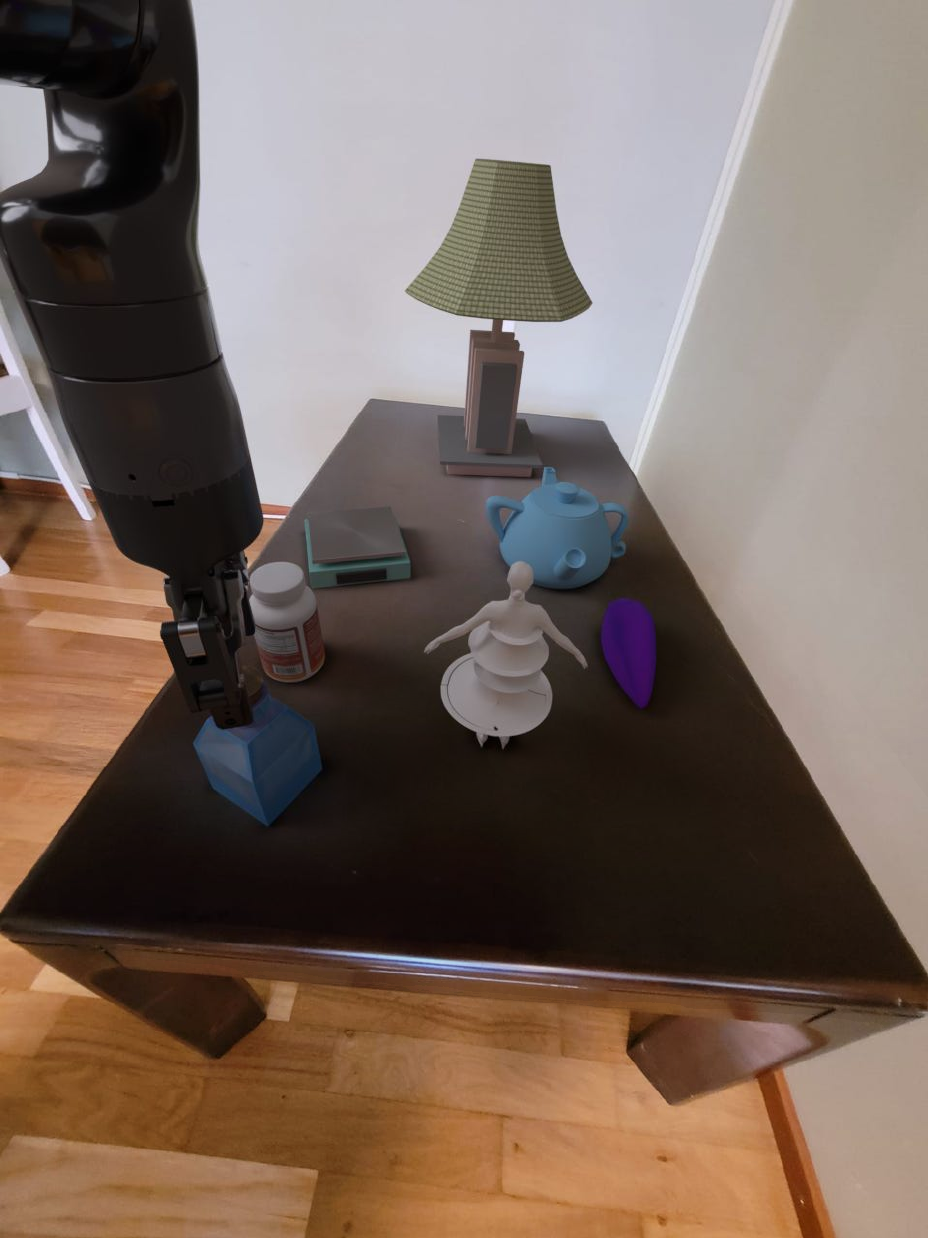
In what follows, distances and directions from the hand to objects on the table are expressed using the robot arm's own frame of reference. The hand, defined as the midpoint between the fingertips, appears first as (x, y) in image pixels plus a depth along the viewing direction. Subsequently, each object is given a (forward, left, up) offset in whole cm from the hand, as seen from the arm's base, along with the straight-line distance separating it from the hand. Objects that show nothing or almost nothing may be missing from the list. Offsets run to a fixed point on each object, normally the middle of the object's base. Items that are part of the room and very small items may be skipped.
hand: (239, 675), depth 37 cm
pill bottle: (+2, +13, -13) cm, 18 cm away
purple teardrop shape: (+37, +6, -13) cm, 39 cm away
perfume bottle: (0, 0, -13) cm, 13 cm away
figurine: (+20, 0, -13) cm, 23 cm away
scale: (+11, +31, -12) cm, 35 cm away
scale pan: (+11, +31, -9) cm, 34 cm away
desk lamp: (+37, +59, -13) cm, 71 cm away
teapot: (+36, +25, -13) cm, 45 cm away
